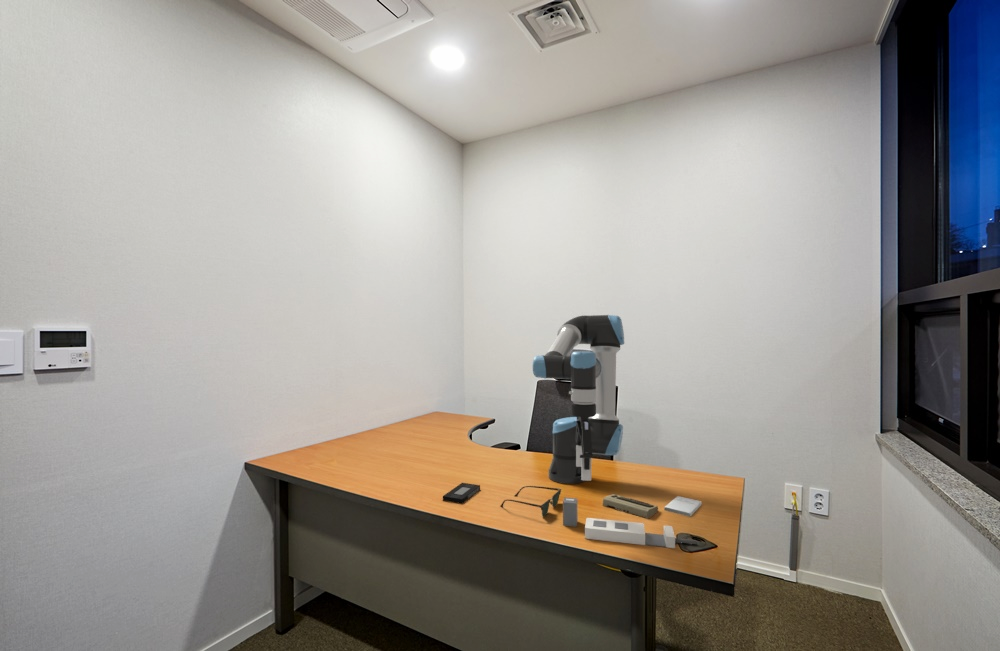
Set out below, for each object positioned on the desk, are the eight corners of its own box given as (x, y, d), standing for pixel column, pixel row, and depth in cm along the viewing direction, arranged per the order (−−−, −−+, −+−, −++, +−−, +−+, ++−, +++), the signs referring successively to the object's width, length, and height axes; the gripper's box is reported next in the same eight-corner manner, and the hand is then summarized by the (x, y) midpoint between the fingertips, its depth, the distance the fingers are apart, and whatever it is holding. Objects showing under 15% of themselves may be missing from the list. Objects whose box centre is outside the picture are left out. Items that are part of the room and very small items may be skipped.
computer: (658, 512, 148) (658, 502, 148) (647, 520, 142) (647, 509, 142) (614, 500, 159) (614, 490, 159) (602, 507, 153) (602, 497, 153)
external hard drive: (664, 511, 149) (676, 500, 158) (690, 518, 144) (701, 505, 153) (664, 506, 149) (676, 495, 158) (690, 513, 144) (701, 501, 153)
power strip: (586, 527, 136) (586, 517, 136) (694, 538, 129) (694, 527, 129) (584, 538, 130) (584, 527, 130) (699, 551, 122) (699, 539, 122)
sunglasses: (518, 494, 164) (518, 480, 164) (562, 503, 156) (562, 488, 156) (495, 511, 150) (495, 495, 150) (543, 521, 142) (542, 505, 142)
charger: (564, 519, 142) (564, 496, 142) (577, 521, 141) (577, 497, 141) (562, 525, 138) (562, 501, 138) (576, 526, 137) (576, 502, 137)
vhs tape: (480, 490, 168) (480, 485, 168) (462, 505, 155) (462, 499, 155) (462, 487, 171) (462, 482, 171) (442, 501, 158) (442, 496, 158)
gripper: (567, 396, 151) (567, 461, 151) (575, 409, 126) (575, 486, 126) (590, 396, 151) (590, 461, 150) (602, 409, 126) (602, 486, 126)
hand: (583, 473), depth 138 cm, fingers open, 13 cm apart
